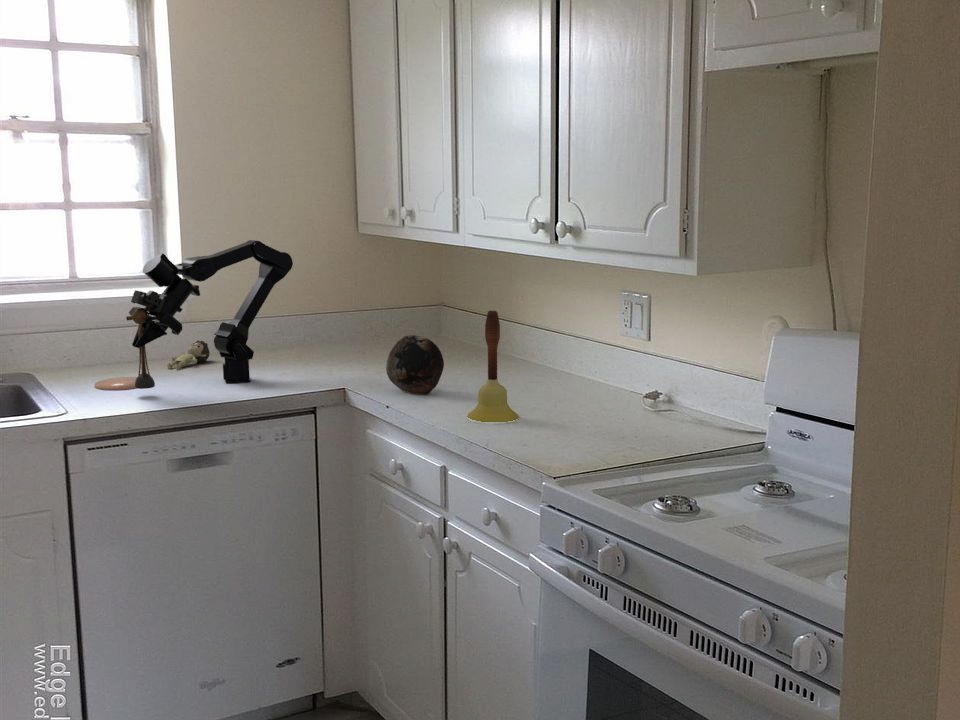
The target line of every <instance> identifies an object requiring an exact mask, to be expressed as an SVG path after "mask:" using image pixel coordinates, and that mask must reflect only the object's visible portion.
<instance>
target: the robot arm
mask: <svg viewBox="0 0 960 720" xmlns="http://www.w3.org/2000/svg"><path fill="white" fill-rule="evenodd" d="M251 258H253V259H254V260H255V261H257V262H258V263H260V264H259V269H258V277H257V278H256V280H255V282H254V284H253V285H252V287H251V289H250V291H249V292H248V293H247V296H245V298H244V300H243V301H242V304H241V306H240V307H239V308H238V310H237V312H236V314H235V315H234V317H233V319H232V320H230V321H229V322H223V321H222V322H221V323H220V325H219V327H218V329H217V331H216V332H214V334H213V335H214V339H213V345H214V348H215V349H216V350H217V352H218V353H219V355H220V357H221V358H224V363H222V375H223V376H222V378H223V380H224V381H225V383H226V384H234V383H249V382H251V378H250V360H253V357H254V350H253V349H252V348H251V347H249V346H248V345H247V343H248V339H249V329H250V327H251V325H252V324H253V322H254V320H255V318H256V316H258V314H259V311H260V310H261V308H262V306H263V305H264V303H265V301H266V300H267V298H268V297H269V295H270V293H271V292H272V290H273V288H274V286H275V285H276V284H277V283H278V282H280V281H282V280H283V279H284V278H285V277H286V276H287V275H288V274H289V272H290V271H291V270H292V268H293V266H294V263H293V258H292V256H291V255H290V254H289V253H287V252H285V251H279V250H277V249H276V248H273V247H271V246H268V245H266V244H265V243H263V242H262V241H260V240H255V239H249V240H247V241H245V242H243V243H240V244H238V245H235V246H232V247H229V248H226V249H224V250H221V251H219V252H216V253H213V254H209V255H200V256H198V255H197V256H193V257H187V258H185V259H183V260H182V261H181V263H176V264H174V263H173V262H172V261H171V260H170V259H169V258H168V257H167V256H166V254H165V253H158V254H157V255H156V256H154V257H152V258H151V259H150V260H149V261H147V262H146V263H145V264H144V265H143V268H142V273H143V274H144V275H146V276H147V277H148V278H149V279H150V280H151V281H152V282H153V283H154V284H156V285H157V286H158V287H159V288H163V287H165V289H164V290H163V291H162V292H161V293H158V292H157V291H154V290H148V292H144V291H140V290H136V289H134V292H133V294H132V298H131V299H130V300H131V301H130V303H132V304H137V305H140V306H132V308H131V309H130V310H129V311H128V314H129V316H132V315H133V312H134V311H135V310H137V309H143V310H145V311H146V313H147V316H148V318H147V319H146V322H145V323H143V324H142V328H144V331H143V332H142V334H141V335H140V337H138V329H136V332H135V333H136V334H135V335H134V338H133V341H132V343H131V344H132V345H131V346H132V347H134V348H136V349H139V348H140V347H142V346H144V345H145V346H146V345H148V344H149V343H151V342H154V340H157V339H159V338H161V337H163V336H167V335H168V332H166V331H167V330H168V329H170V330H171V334H172V335H176V336H179V335H180V333H181V332H183V324H182V323H181V322H180V321H179V320H177V319H176V318H175V317H174V316H175V315H176V314H177V313H181V312H182V311H183V308H182V306H183V304H185V302H186V301H187V299H188V298H189V297H190V296H196V297H200V296H201V292H200V286H199V284H198V285H197V284H193V283H192V282H191V281H194V282H205V281H206V280H208V279H210V278H212V277H213V276H214V275H216V273H217V272H218V271H220V270H221V269H224V268H227V267H230V266H232V265H234V264H237V263H239V262H242V261H246V260H249V259H251ZM181 276H182V277H183V278H182V277H181ZM141 306H143V307H141ZM137 328H139V325H138V327H137Z"/></svg>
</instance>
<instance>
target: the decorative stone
mask: <svg viewBox="0 0 960 720" xmlns="http://www.w3.org/2000/svg"><path fill="white" fill-rule="evenodd" d="M385 366H386V367H385V368H386V370H385V371H386V375H387V377H388V379H389V381H390V382H391V383H392V384H393V385H394V386H395V387H397V388H398V389H399V390H401V391H403V392H404V391H405V392H404V393H409V394H416V395H429V394H431V392H432V391H433V390H434V389H435V388H436V387H437V385H439V382H440V381H441V377H442V375H443V371H444V367H445V361H444V358H443V354H442V351H441V350H440V348H439V347H438V346H437V344H436V343H435V342H434V341H432V340H430V338H428V337H425V336H422V335H417V334H408V335H407V334H406V335H402V336H401V337H400V338H398V340H397V341H396V342H395V344H394V345H393V346H392V348H391V350H390V351H389V353H388V356H387V360H386V364H385Z"/></svg>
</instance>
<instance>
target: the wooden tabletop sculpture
mask: <svg viewBox="0 0 960 720" xmlns="http://www.w3.org/2000/svg"><path fill="white" fill-rule="evenodd" d="M147 318H148V316H147V313H146V311H145V310H143V309H137V310H135V311H134V312H133V315H132V316H131V315H129V316H128V315H127V316H126V318H125V319H126V321H133V322H134V323H135V324H136V325H137V324H138V326H139V328H138V327H137V329H136V330H138V337H140V335H141V334H142V332H143V331H144V328H142V324H143V323H145V322H146V319H147ZM138 350H139V352H138V353H139V357H138V358H139V364H138V365H139V366H138V376H136V377H137V378H136V381H135V388H134V389H138V390H139V389H141V390H146V389H152V388H154V387H156V383H155V380H154V378H153V377H152V376H151V373H150V369H149V366H148V358H147V353H146V352H147V351H146V345H144V346H142V347H140V348H138Z"/></svg>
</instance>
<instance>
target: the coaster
mask: <svg viewBox="0 0 960 720" xmlns="http://www.w3.org/2000/svg"><path fill="white" fill-rule="evenodd" d="M137 377H138V376H120V377H119V376H118V377H111V378H105V379H102V380H98V381H96V382H94V388H95V389H98V390H102V391H124V390H133V389H136V388H135V381H136V378H137Z"/></svg>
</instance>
